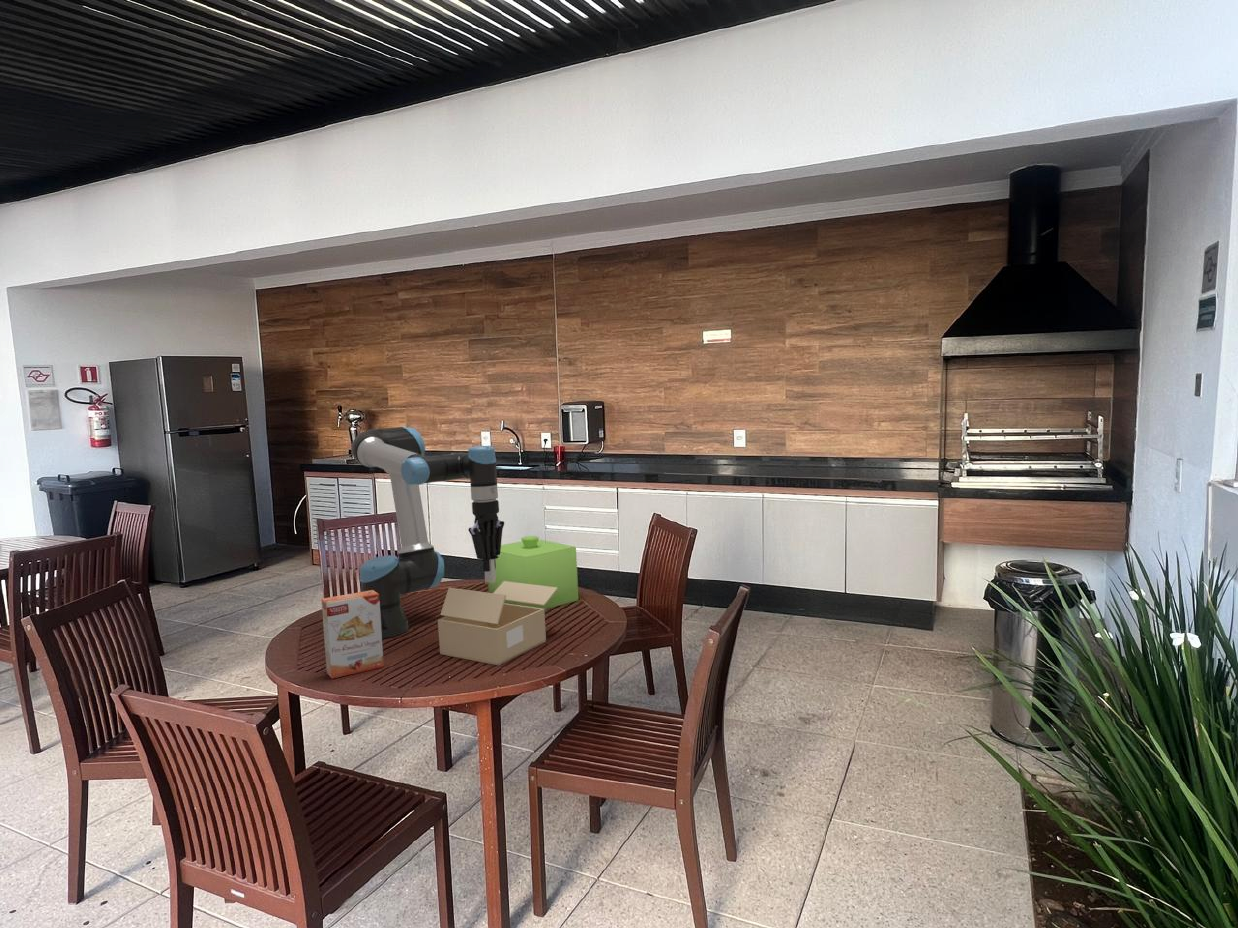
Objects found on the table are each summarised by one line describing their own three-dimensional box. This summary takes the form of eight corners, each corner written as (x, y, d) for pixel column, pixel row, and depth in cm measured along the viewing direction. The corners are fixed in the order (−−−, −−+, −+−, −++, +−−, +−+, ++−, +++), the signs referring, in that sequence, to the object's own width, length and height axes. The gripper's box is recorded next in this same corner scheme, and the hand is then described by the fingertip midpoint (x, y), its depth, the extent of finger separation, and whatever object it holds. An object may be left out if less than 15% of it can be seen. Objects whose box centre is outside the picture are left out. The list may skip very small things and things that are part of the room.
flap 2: (489, 597, 228) (503, 581, 233) (489, 598, 228) (504, 582, 234) (543, 604, 217) (557, 587, 223) (544, 606, 217) (558, 588, 223)
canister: (489, 600, 266) (485, 537, 263) (538, 588, 279) (534, 528, 277) (528, 614, 247) (524, 546, 245) (578, 600, 261) (575, 536, 258)
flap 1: (440, 614, 210) (448, 587, 213) (441, 615, 210) (449, 587, 213) (496, 623, 199) (505, 594, 202) (498, 624, 199) (506, 595, 202)
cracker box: (331, 680, 194) (325, 602, 192) (326, 673, 199) (320, 597, 197) (385, 667, 202) (379, 592, 200) (378, 661, 207) (373, 588, 205)
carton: (440, 653, 211) (437, 619, 210) (489, 632, 228) (487, 600, 228) (499, 665, 199) (497, 629, 198) (546, 642, 217) (544, 608, 216)
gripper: (479, 503, 202) (485, 588, 204) (510, 497, 213) (515, 577, 215) (459, 503, 206) (465, 585, 208) (490, 496, 217) (495, 575, 219)
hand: (490, 581), depth 212 cm, fingers closed
